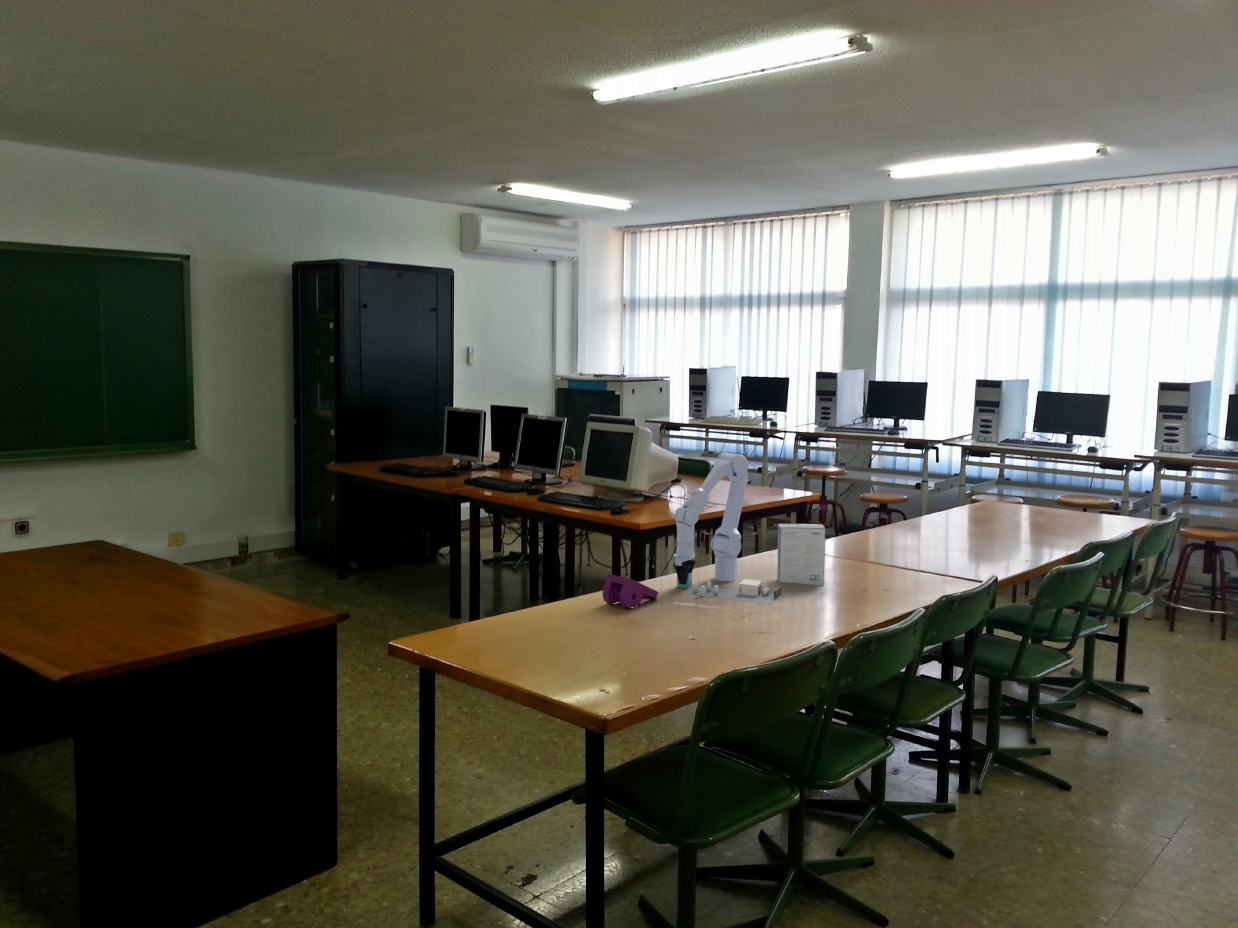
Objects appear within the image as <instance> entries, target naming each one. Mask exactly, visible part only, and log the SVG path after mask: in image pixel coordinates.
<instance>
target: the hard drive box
mask: <svg viewBox="0 0 1238 928" xmlns="http://www.w3.org/2000/svg"><path fill="white" fill-rule="evenodd" d="M777 525H778V526H777V569H776V570H777V575H776V576H777V578H776V579H777V580H776V581H777V583H788V584H789V583H790V584H791V583H792V584H798V585H799V584H800V585H809V586H811V585H812V586H824V585H825V558H826V557H825V556H826V554H825V553H826V528H825V527H826V526H824V525H823V523H822V524H821V523H819V524H818V523H817V524H815V523H813V524H812V523H811V524H810V523H778V524H777Z"/></svg>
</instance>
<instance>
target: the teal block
mask: <svg viewBox="0 0 1238 928" xmlns="http://www.w3.org/2000/svg"><path fill="white" fill-rule="evenodd" d="M691 586H692V587H693V571H692V572H691V571H688V574H687V581H686V584H685V585H682V584H679V581H678V576H677V575H676V588H677V587H680V588H679V589H685V588H689V589H691V588H692V587H691Z"/></svg>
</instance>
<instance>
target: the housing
mask: <svg viewBox="0 0 1238 928" xmlns="http://www.w3.org/2000/svg"><path fill="white" fill-rule="evenodd" d="M763 586H764V585H763V580H757V579H749V578H748V579H747V578H744V579H743V580H742V581H740V582H739V584H738V589H739V594H740V595H749V596H758V592H763V589H764V588H763Z"/></svg>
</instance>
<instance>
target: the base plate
mask: <svg viewBox="0 0 1238 928" xmlns="http://www.w3.org/2000/svg"><path fill="white" fill-rule="evenodd" d="M684 595H690V596H700V597H707V598H708V597H709V598H716V599H717V598H718V599H724V600H733V601H734V600H735V601H744V602H751V603H760V604H770V605H772V604H773V603H774V602H775V601H776V600H777V598H779V596H781V595H782V585H779V586H778V587H776V589H775V590H773V592H770V587H764V588H762V592H758V596H749V595H740V594H739V588H733V587H723V586H719V585H718V584H714V585H712V582H711V581H706V584H699V583H698V582H693V586H692V587H690V588H689V590H687V591H686V592H685V593H684Z"/></svg>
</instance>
